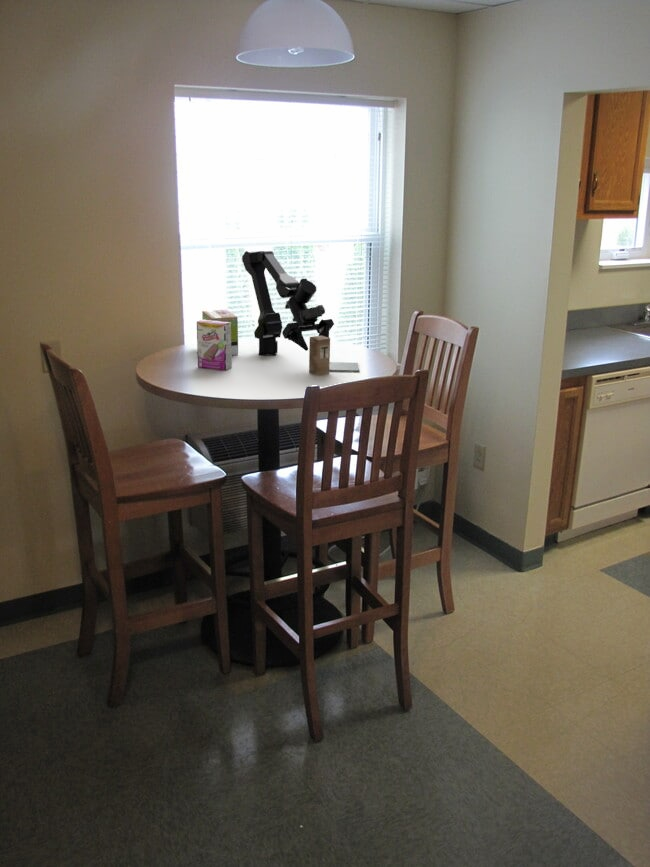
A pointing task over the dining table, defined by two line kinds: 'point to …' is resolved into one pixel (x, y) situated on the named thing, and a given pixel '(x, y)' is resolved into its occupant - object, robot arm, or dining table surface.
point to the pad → (343, 367)
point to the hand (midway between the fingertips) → (318, 348)
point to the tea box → (225, 317)
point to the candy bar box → (214, 344)
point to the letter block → (319, 355)
